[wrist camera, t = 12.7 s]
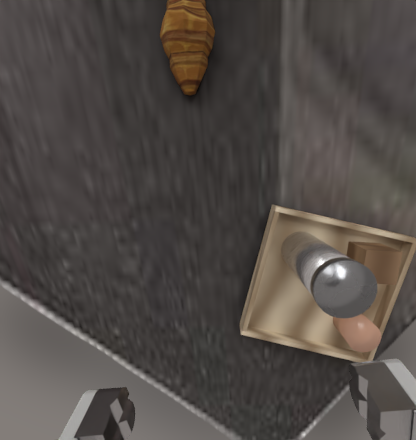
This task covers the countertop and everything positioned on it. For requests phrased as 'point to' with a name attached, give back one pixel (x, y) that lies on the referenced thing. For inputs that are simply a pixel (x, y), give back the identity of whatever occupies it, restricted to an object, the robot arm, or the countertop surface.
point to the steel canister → (330, 275)
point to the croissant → (187, 41)
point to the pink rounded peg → (358, 332)
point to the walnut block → (377, 260)
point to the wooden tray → (298, 294)
